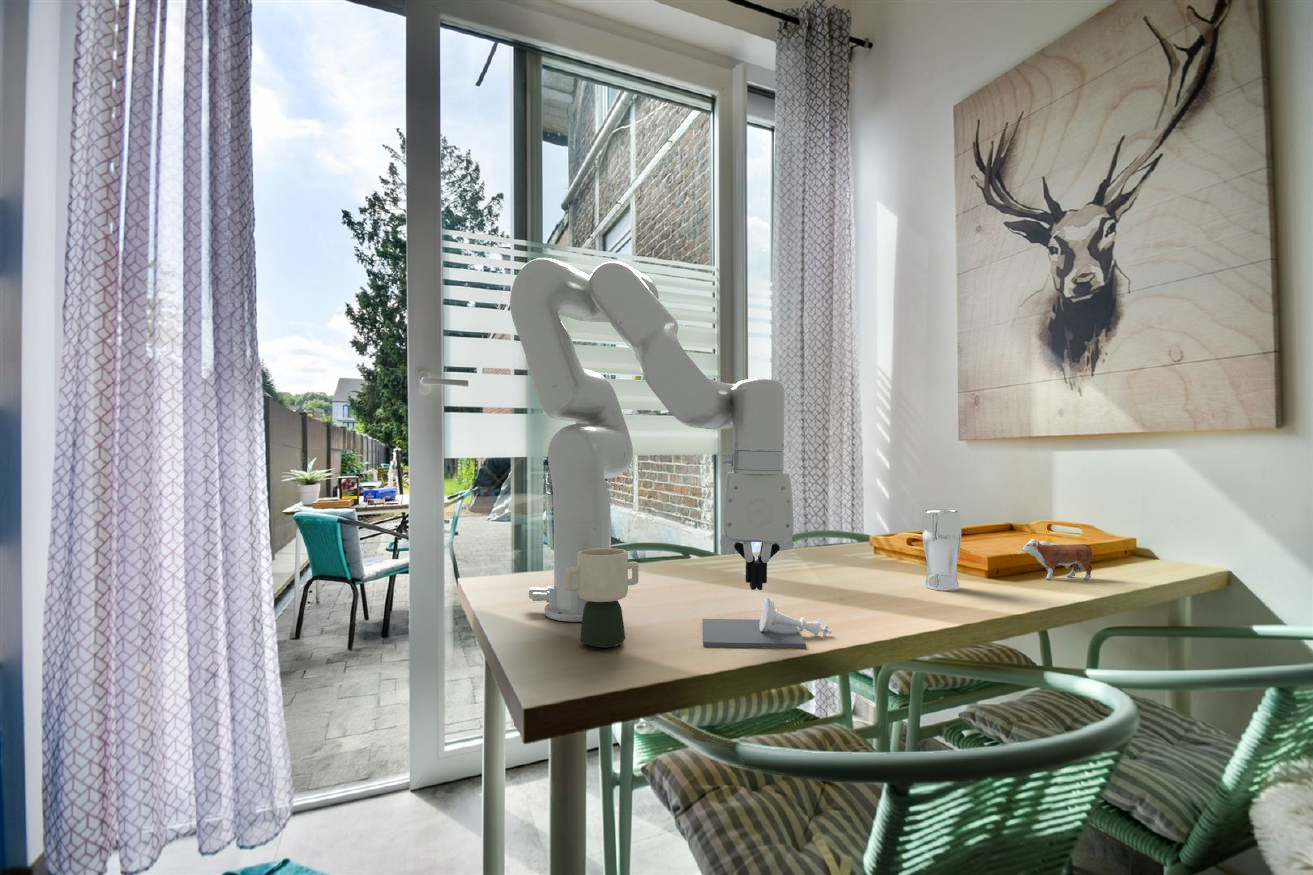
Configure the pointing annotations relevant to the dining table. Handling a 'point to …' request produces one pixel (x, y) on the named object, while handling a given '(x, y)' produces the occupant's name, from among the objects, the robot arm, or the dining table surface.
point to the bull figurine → (1061, 556)
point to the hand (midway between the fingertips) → (755, 587)
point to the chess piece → (787, 620)
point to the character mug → (602, 593)
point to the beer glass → (941, 548)
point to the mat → (749, 634)
